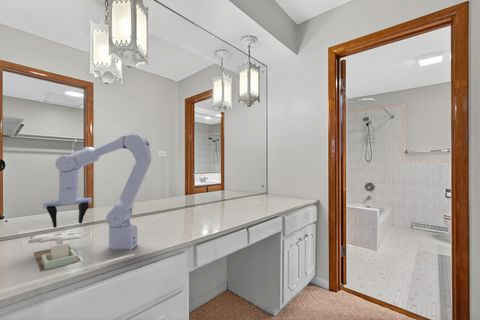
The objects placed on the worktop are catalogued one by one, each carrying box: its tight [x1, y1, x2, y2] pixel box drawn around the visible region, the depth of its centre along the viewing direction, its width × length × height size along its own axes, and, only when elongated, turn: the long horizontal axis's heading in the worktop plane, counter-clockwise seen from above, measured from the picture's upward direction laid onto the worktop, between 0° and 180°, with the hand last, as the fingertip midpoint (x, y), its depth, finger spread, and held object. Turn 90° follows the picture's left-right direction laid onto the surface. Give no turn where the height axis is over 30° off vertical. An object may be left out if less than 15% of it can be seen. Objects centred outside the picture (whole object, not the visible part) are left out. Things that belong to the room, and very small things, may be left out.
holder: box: [41, 248, 79, 271], centre depth 73 cm, size 8×8×2 cm
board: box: [33, 245, 82, 273], centre depth 77 cm, size 20×10×1 cm, turn 47°
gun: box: [27, 231, 86, 244], centre depth 96 cm, size 18×3×10 cm
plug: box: [50, 239, 70, 261], centre depth 74 cm, size 4×4×6 cm
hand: (68, 224), depth 85 cm, fingers open, 7 cm apart
